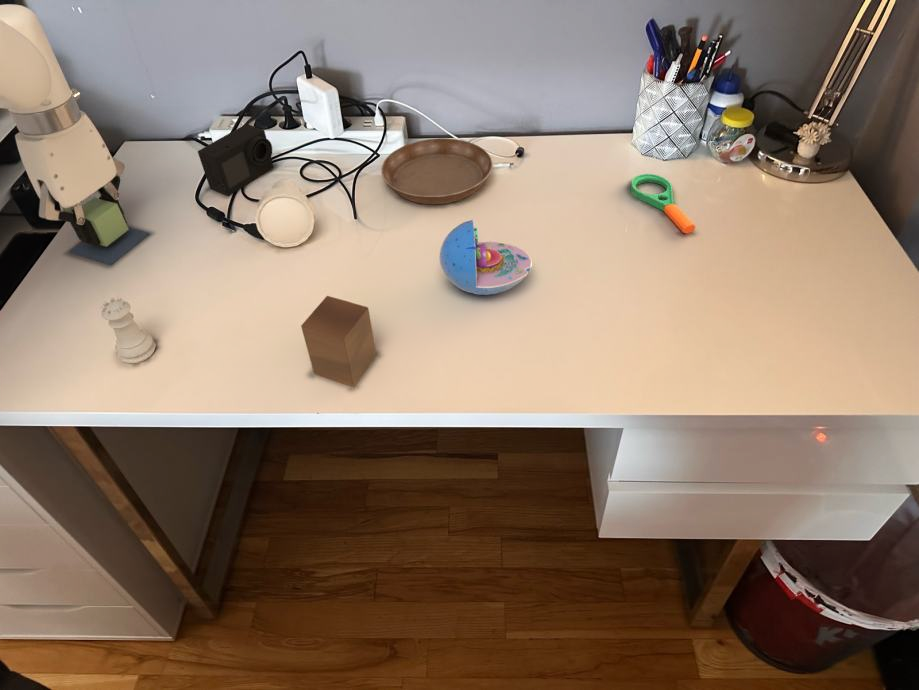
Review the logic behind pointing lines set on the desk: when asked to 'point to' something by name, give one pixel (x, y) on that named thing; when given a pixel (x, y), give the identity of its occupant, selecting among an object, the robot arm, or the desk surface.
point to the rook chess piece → (127, 332)
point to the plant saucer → (437, 170)
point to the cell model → (481, 262)
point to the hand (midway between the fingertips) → (104, 231)
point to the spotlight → (285, 215)
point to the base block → (339, 340)
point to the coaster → (111, 247)
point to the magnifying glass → (658, 199)
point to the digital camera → (236, 159)
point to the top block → (105, 220)
